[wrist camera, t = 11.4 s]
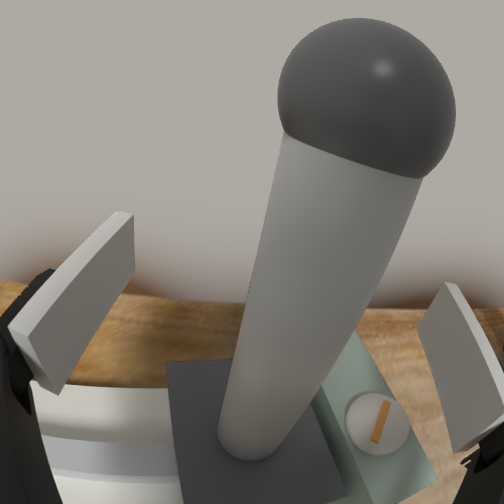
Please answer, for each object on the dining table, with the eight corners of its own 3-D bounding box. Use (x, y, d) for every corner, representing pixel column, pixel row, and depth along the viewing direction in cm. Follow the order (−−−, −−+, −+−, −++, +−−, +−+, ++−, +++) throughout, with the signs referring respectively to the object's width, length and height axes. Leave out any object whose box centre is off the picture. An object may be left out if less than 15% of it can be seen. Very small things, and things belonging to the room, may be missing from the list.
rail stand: (314, 383, 23) (353, 314, 19) (368, 511, 14) (445, 474, 9) (-37, 376, 14) (-81, 304, 10) (-58, 502, 5) (-132, 452, 1)
